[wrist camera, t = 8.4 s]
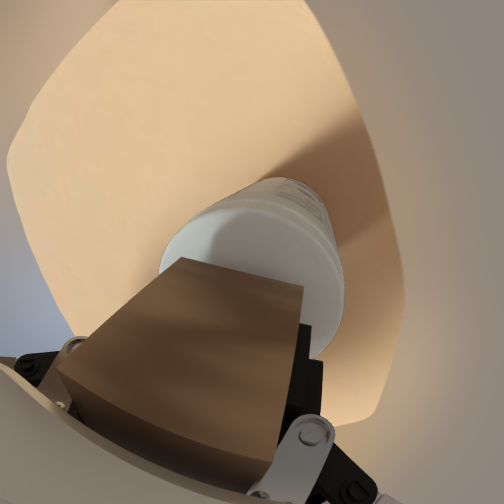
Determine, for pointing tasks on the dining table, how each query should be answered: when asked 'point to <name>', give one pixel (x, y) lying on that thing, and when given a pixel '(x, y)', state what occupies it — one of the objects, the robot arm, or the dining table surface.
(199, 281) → the walnut block
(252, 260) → the supplement tub
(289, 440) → the robot arm
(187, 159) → the dining table surface
